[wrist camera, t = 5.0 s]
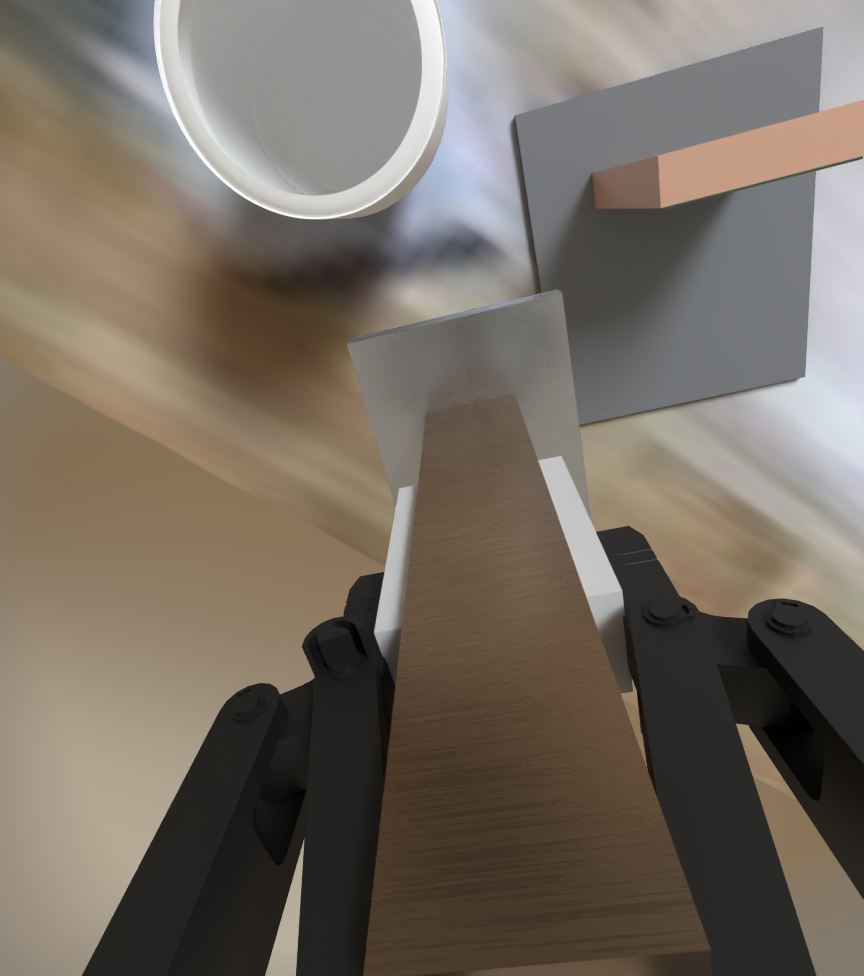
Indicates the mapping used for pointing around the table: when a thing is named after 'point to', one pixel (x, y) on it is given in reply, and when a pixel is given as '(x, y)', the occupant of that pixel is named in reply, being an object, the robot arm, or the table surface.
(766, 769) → the table surface
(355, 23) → the jar
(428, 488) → the tall wooden post
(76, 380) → the table surface
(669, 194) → the terracotta tile
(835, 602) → the table surface
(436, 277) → the table surface
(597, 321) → the slate rubber mat
